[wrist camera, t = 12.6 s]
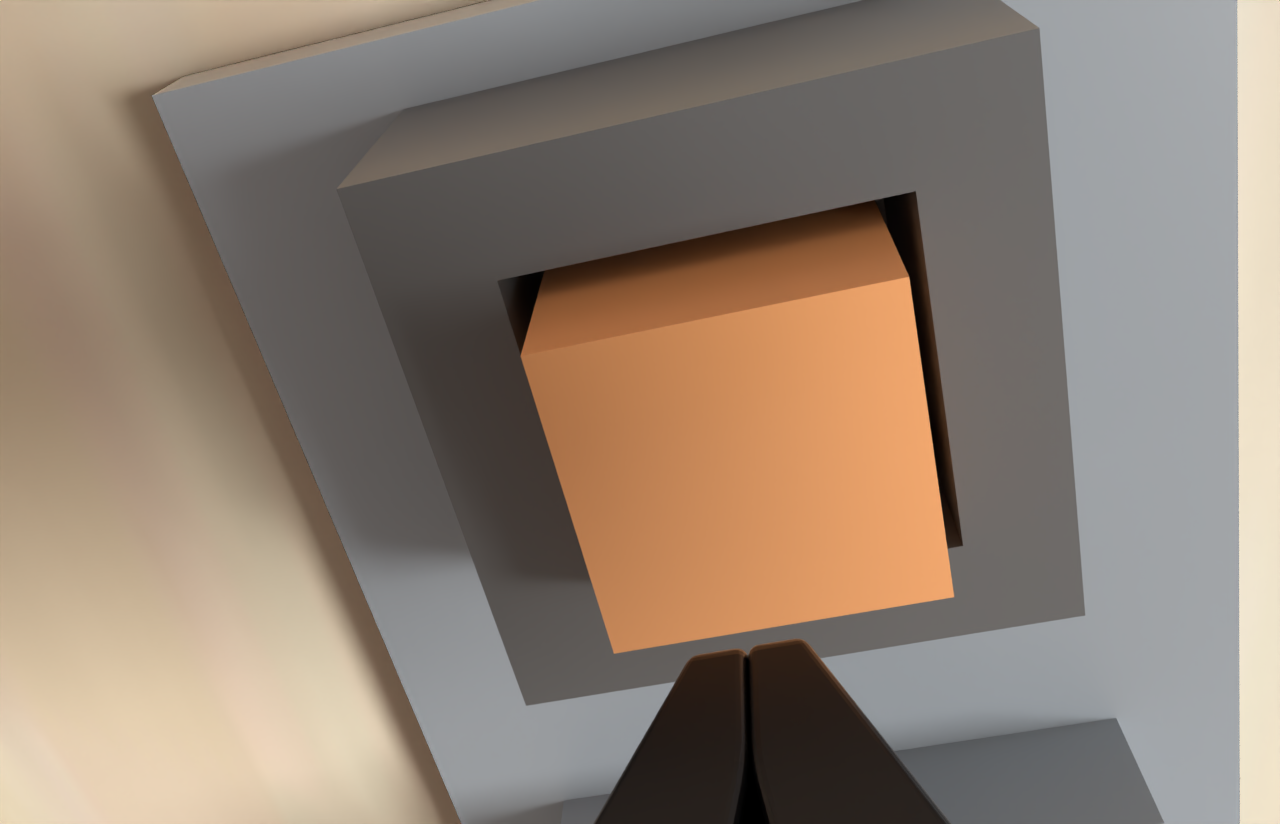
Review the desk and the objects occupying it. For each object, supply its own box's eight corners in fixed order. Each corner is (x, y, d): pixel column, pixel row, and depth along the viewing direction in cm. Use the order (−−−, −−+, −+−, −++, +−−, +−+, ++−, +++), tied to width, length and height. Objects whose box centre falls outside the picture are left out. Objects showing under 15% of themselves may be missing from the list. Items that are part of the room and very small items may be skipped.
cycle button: (903, 443, 14) (953, 597, 11) (627, 494, 15) (614, 652, 12) (861, 171, 13) (908, 277, 10) (552, 238, 13) (520, 356, 10)
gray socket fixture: (1219, 1124, 24) (1313, 1359, 20) (637, 1184, 25) (630, 1411, 22) (1198, -177, 13) (1393, -157, 9) (183, 76, 15) (23, 171, 11)
